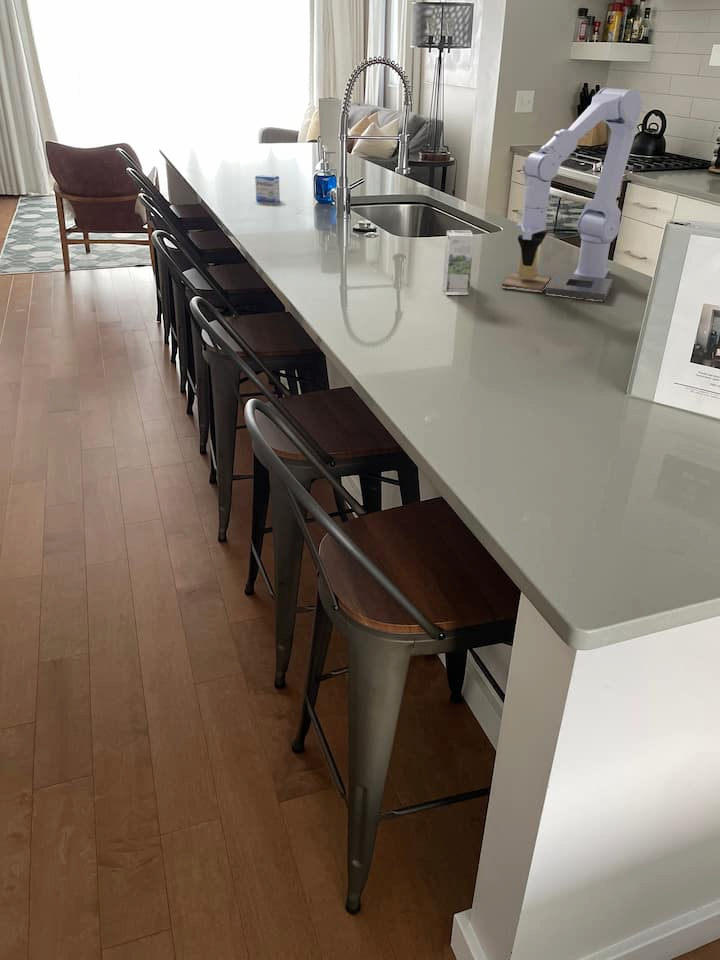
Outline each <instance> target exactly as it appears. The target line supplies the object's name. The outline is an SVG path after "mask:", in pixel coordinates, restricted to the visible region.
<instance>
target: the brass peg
mask: <svg viewBox="0 0 720 960" xmlns="http://www.w3.org/2000/svg"><path fill="white" fill-rule="evenodd" d="M541 248H542V243H539V245H538V247H537V250H536V253H535V257H534V261H533V264H532V266H524V265H523V262H522V252H520V258H519V259H520V260H519V269H518V273H519V276H518V277H519V278H528V279H535V278H536V276H537V275H539V274H538V273H539V266H540V265H539V264H540V256H541Z"/></svg>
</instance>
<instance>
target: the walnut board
mask: <svg viewBox="0 0 720 960" xmlns="http://www.w3.org/2000/svg"><path fill="white" fill-rule="evenodd" d="M518 276H519V272H515V271H513V272H512V273H511V274H510V275H509V276H508V277H506V279H505V281H503V282H502V283H501V284H502V285H501V287H502V286H505V287H516V288H524V289H531V290H539V291H543V289H544V288H545V287H546V285H547V284H548V283H549V281H550V280H552V278H553V277H552V276H550V275H543V274H538V275H537V276H536V278H535V279H528V278H519V277H518ZM543 292H544V291H543Z"/></svg>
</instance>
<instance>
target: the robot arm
mask: <svg viewBox="0 0 720 960" xmlns="http://www.w3.org/2000/svg"><path fill="white" fill-rule="evenodd" d="M643 104H644V102H643V99H642V97H641V95H640V93H639V91H637V89H631V88H630V89H625V88H624V89H623V88H612V87H609V86H606V87H603V88H601V89H600V90H599V91H598V92H597V93H596V94H594V95H593V96H592V97H591V103H590V105H588V106H587V108H586V109H585V110H584V111H583V112H582V113H581V114H580V115H579V117H578V118H577V119H576V120H575V121H574V122H573V123H572V124H571V125H570V126H569V128H568V129H560V130H556V131H555V132H554V134H553V136H552V137H551V139H550V140H548V142H546V143H545V144H544V145H542V146H541V147H540V149H539V150H538V151H535V152H532V153H530V154H529V155H528V156H527V157H526V159H525V160H524V164H522V167H521V168H522V169H521V170H522V173H523V175H524V183H525V191H524V201H523V212H522V220H521V222H520V223H519V222H518V223H517V224H516V228H519V229H521V231H522V234H518V235H517V241H518V243H519V246H520V251H521V252H522V262H523V265H524V266H532V264H533V261H534V257H535V253H536V250H537V247H538V245H539V243H541V244H542V243H543V240H544V239H545V238H546V236H547V235H548V234H547V233H548V232H547V231H546V230H547V217H548V209H549V201H550V200H549V199H550V194H551V192H550V191H551V183H552V180H553V178H555V177H556V176H557V174H558V172H559V168H561V164H562V163H563V162H564V161H565V160H566V159H567V158H568V157H570V155H571V154H573V152H575V151H576V149H577V148H578V141H579V140H580V139H581V138H582V137H584V136H585V135H586V134H588V132H589V131H591V130H592V129H593V128H594V127H595V126H597V125H598V124H599V123H601V121H603V122H604V123H606V124H607V126H608V127H609V129H610V130H611V136H610V138H609V139H610V140H609V143H608V147H607V150H606V154H605V158H604V161H603V164H602V167H601V171H600V174H599V179H598V181H597V186H596V190H595V193H594V196H593V199H591V200H590V201H588V202H587V203H585V204H584V207H583V210H582V212H581V214H580V216H579V217H578V220H577V222H576V223H577V224H576V227H577V231H578V233H579V238H581V241H580V242H581V243H580V248H579V249H580V250H579V257H578V262H577V268H576V269H575V270H574V273H573V275H577V276H586V277H596V278H604V279H606V277H607V275H608V272H609V270H610V269H609V268H607V263H608V257H609V251H610V245H611V243H612V242H613V240H614V239H615V238H616V237H617V236H618V234H619V232H620V227H621V224H620V221H621V217H622V211H621V209H620V208H619V206H618V205H617V203H616V202H617V198H618V194H619V191H620V188H621V184H622V181H623V178H624V175H625V171H626V168H627V164H628V161H629V157H630V155H631V154H630V153H631V151H632V147H633V143H634V139H635V137H636V133H637V128H638V122H639V118H640V114H641V110H642V107H643ZM521 252H520V253H521Z"/></svg>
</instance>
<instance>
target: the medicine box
mask: <svg viewBox="0 0 720 960" xmlns="http://www.w3.org/2000/svg"><path fill="white" fill-rule="evenodd" d="M254 178H255V182H254V183H255V200H256V201H257V202H269V203H270V202H271V203H276V202H279V201H280V198H281V197H280V177H279V176H277V175H265V174H259V175H256V176H255V177H254Z"/></svg>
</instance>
